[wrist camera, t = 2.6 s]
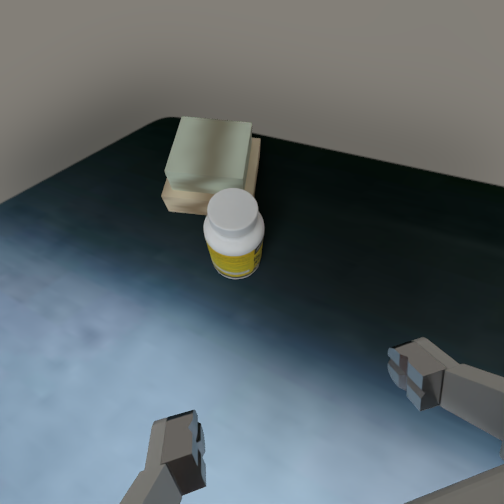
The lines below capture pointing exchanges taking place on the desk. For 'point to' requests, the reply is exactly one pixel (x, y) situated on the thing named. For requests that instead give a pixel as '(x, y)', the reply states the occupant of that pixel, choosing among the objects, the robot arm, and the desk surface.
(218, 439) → the desk surface
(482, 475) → the robot arm
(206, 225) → the supplement bottle
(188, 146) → the two-tone square platform
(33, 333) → the desk surface
